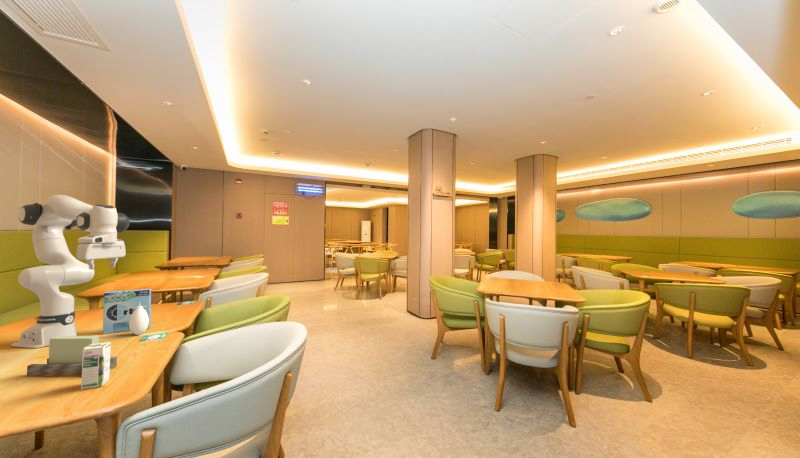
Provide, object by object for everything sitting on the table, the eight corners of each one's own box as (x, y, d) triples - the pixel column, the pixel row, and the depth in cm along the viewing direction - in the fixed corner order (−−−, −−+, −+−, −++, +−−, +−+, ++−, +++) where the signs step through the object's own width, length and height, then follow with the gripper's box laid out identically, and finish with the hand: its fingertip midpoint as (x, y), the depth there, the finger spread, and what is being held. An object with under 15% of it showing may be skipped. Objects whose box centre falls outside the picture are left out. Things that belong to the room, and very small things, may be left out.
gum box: (150, 326, 172) (151, 288, 173) (148, 328, 168) (150, 289, 169) (104, 332, 162) (106, 291, 162) (102, 334, 157) (103, 292, 158)
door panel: (48, 369, 114) (49, 338, 115) (56, 365, 117) (58, 336, 118) (90, 368, 115) (91, 338, 115) (98, 365, 118) (99, 335, 118)
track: (26, 376, 111) (27, 365, 112) (50, 366, 119) (51, 357, 119) (97, 375, 113) (97, 365, 113) (116, 366, 121) (116, 356, 121)
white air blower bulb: (139, 331, 163) (141, 299, 163) (151, 332, 162) (153, 300, 162) (124, 336, 155) (126, 302, 156) (137, 337, 154) (138, 303, 154)
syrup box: (80, 390, 102) (81, 349, 103) (89, 382, 108) (91, 343, 108) (101, 387, 104) (103, 346, 105) (110, 379, 110) (111, 341, 110)
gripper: (117, 238, 146) (116, 265, 146) (73, 239, 126) (72, 270, 125) (130, 238, 146) (129, 266, 146) (88, 239, 126) (87, 270, 126)
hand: (102, 268), depth 136 cm, fingers open, 8 cm apart
